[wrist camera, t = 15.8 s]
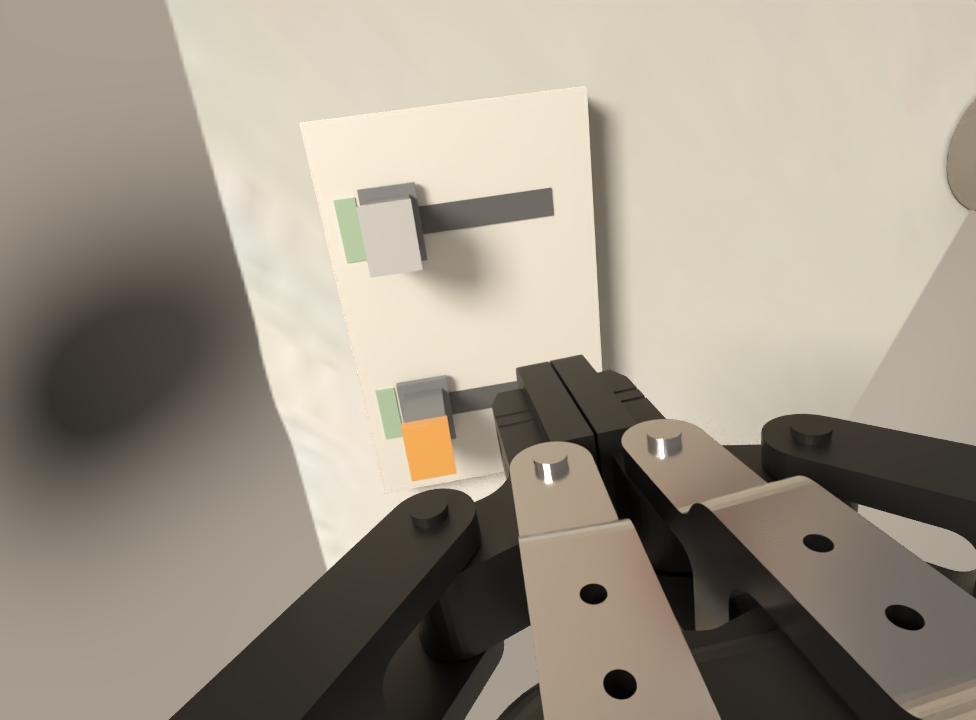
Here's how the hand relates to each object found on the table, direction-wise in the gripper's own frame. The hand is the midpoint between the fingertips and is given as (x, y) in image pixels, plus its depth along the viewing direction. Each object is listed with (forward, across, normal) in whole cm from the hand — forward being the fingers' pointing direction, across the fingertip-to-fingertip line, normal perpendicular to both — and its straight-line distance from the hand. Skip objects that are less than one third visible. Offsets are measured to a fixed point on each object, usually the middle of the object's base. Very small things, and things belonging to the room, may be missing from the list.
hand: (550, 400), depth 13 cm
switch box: (+26, 0, +4) cm, 26 cm away
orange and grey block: (+22, +5, +10) cm, 25 cm away
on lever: (+22, +4, -2) cm, 23 cm away
